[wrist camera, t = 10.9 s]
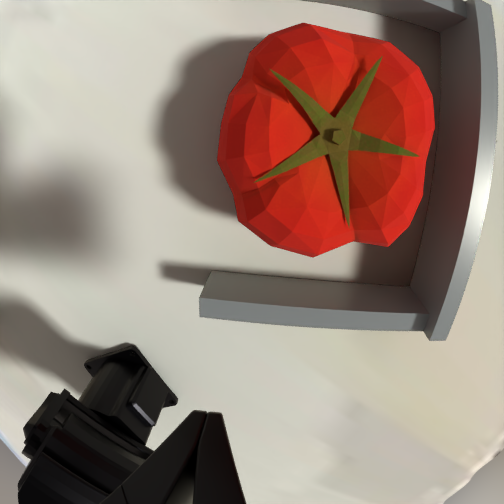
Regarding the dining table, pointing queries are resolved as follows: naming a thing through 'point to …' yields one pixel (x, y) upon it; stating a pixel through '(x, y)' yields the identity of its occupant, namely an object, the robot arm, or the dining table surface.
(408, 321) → the u-shaped frame
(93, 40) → the dining table surface
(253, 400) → the dining table surface
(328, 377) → the dining table surface
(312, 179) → the tomato
